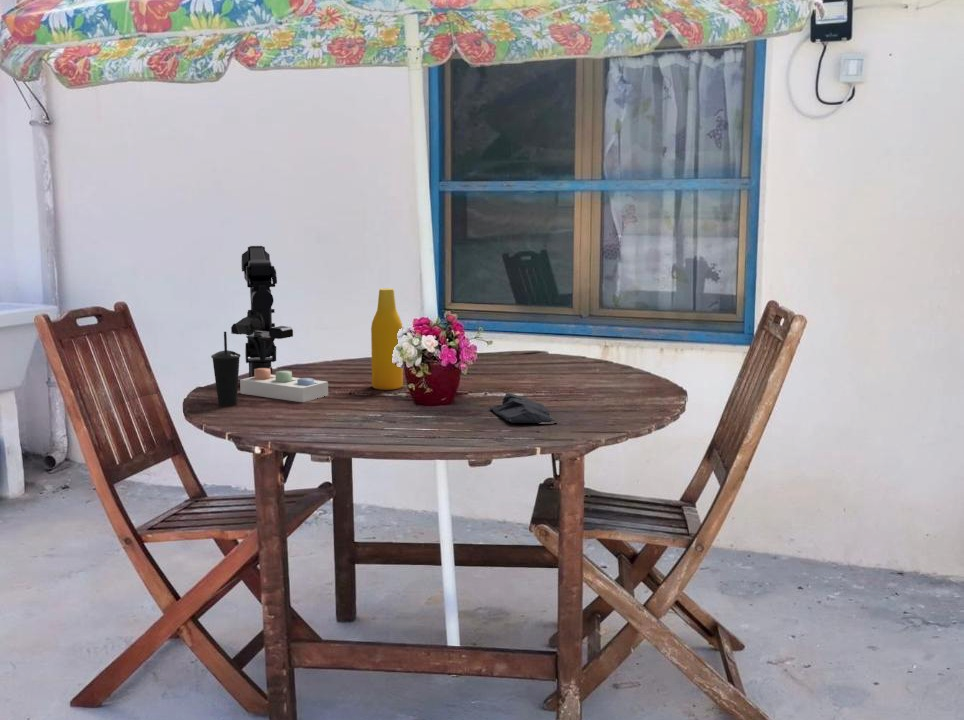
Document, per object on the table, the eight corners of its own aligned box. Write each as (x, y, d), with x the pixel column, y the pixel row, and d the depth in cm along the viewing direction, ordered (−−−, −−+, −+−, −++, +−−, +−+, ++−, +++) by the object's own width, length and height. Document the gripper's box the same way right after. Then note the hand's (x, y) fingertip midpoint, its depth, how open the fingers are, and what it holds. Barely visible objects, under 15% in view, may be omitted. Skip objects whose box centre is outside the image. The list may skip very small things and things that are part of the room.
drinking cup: (216, 401, 294) (214, 329, 291) (244, 401, 295) (242, 329, 291) (210, 407, 287) (207, 333, 284) (238, 407, 287) (236, 333, 284)
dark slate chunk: (501, 428, 268) (501, 409, 267) (488, 409, 289) (488, 392, 288) (561, 426, 270) (561, 408, 269) (544, 408, 291) (544, 391, 290)
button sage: (272, 389, 304) (272, 372, 303) (283, 387, 308) (282, 370, 307) (284, 391, 301) (284, 374, 301) (295, 388, 305) (295, 371, 304)
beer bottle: (365, 386, 317) (364, 288, 312) (390, 382, 323) (389, 287, 318) (384, 391, 310) (383, 291, 306) (409, 387, 316) (408, 289, 312)
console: (240, 393, 306) (240, 379, 305) (266, 387, 315) (266, 373, 315) (302, 402, 294) (302, 388, 294) (328, 395, 304) (328, 381, 303)
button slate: (294, 397, 300) (293, 379, 299) (305, 394, 304) (304, 377, 303) (307, 399, 298) (306, 381, 297) (317, 396, 301) (317, 379, 301)
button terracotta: (251, 386, 308) (250, 369, 307) (262, 384, 312) (261, 367, 311) (263, 388, 305) (262, 371, 305) (274, 386, 309) (273, 368, 308)
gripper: (216, 306, 302) (218, 361, 305) (267, 311, 293) (268, 367, 296) (244, 302, 312) (245, 355, 315) (293, 307, 303) (294, 361, 305)
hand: (262, 360), depth 307 cm, fingers closed
